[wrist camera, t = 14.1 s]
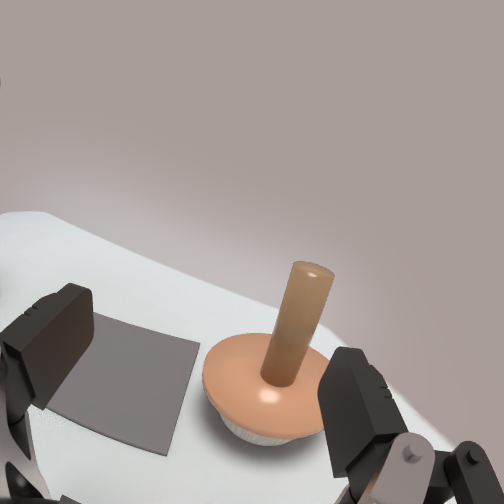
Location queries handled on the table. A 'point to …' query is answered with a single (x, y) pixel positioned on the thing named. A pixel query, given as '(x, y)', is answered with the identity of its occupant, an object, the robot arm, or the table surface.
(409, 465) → the robot arm
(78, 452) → the table surface
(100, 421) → the mat
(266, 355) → the lid
